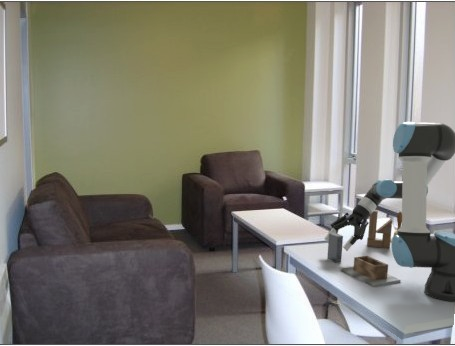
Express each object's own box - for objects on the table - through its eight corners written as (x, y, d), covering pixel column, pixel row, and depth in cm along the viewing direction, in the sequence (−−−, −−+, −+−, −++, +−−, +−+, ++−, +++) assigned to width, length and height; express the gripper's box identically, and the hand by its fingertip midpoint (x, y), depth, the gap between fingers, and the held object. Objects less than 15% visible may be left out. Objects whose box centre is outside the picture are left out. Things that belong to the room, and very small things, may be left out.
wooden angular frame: (389, 248, 255) (393, 212, 252) (367, 246, 257) (370, 210, 255) (389, 246, 259) (392, 210, 256) (366, 244, 261) (369, 209, 258)
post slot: (400, 282, 209) (401, 266, 208) (373, 286, 203) (374, 270, 202) (366, 266, 227) (367, 252, 226) (340, 270, 220) (341, 255, 219)
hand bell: (402, 245, 261) (404, 214, 258) (386, 242, 266) (389, 211, 264) (409, 242, 267) (412, 212, 264) (394, 239, 272) (396, 209, 270)
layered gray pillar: (341, 262, 232) (343, 235, 230) (335, 262, 230) (337, 236, 228) (332, 258, 237) (334, 232, 235) (327, 258, 236) (329, 233, 234)
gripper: (387, 221, 228) (358, 258, 224) (350, 208, 250) (323, 242, 246) (379, 210, 225) (349, 247, 221) (342, 198, 247) (314, 232, 243)
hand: (335, 244), depth 233 cm, fingers open, 13 cm apart
